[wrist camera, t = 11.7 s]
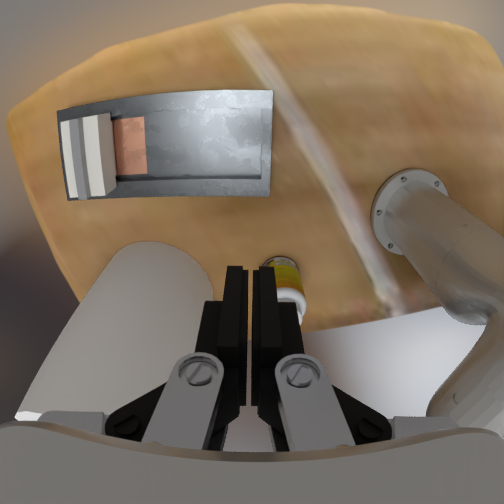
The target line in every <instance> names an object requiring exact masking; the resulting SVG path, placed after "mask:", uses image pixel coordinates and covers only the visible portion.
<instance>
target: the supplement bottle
mask: <svg viewBox="0 0 504 504" xmlns="http://www.w3.org/2000/svg"><path fill="white" fill-rule="evenodd" d="M263 266H272V267H274V269H275V278H276V287H277V297H278V302H295V303H296V307H297V312H298V318H299V323H300V325H301V323H302V316H303V315H304V313H305V311H306V299H305V295H304V290H303V286H302V281H301V277H300V273H299V269H298V267H297V265H296V264H295V263H294V262H293V261H292V260H290V259H288V258H284V257H276V258H273V259H270V260H268V261H267V262H266V263H265V264H264V265H263Z"/></svg>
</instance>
